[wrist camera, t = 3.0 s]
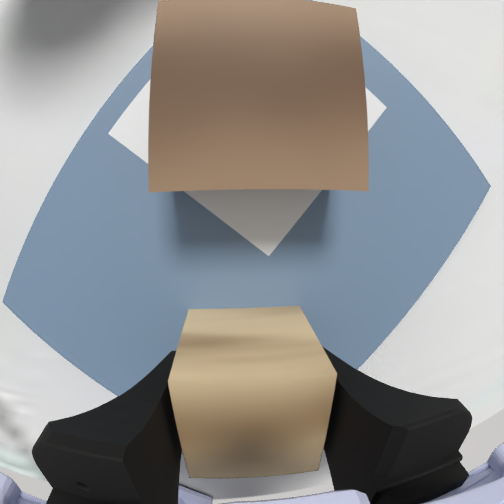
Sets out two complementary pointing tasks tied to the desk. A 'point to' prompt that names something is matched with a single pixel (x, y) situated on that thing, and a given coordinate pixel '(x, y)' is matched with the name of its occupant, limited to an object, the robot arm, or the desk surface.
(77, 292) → the mat
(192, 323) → the maple block
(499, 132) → the desk surface
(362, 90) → the walnut base
